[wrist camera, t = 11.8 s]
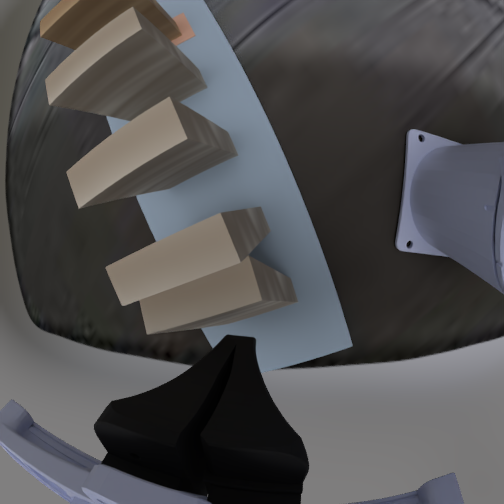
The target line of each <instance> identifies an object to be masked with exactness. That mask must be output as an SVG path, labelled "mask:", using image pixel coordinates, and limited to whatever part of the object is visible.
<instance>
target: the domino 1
mask: <svg viewBox="0 0 504 504" xmlns="http://www.w3.org/2000/svg"><path fill="white" fill-rule="evenodd" d="M131 7H134V8H135V9H136V10H137V11H139V12H140V13H141V14H142V15H143V16H144V17H145V18H147V19H148V20H149V21H150V22H151V23H152V24H153V25H154V26H155V27H157V28H158V29H159V30H160V31H161V32H162V33H163V34H164V35H165V36H166V37H167V38H168V39H169V40H170V41H172V40H174V39H176V38H178V37H180V36H181V35H182V34H181V32H180V30H179V28H178V26H177V24H176V22H175V21H174V20H173V19H172V18H171V16H170V15H169V14H168V13H167V12H166V11H165V10H164V9H163V8H162V7H161V5H160V4H159V3H158V2H157V1H156V0H62V1H61V2H59V3H58V4H57V5H56V6H55V7H54V8H53V9H52V10H51V11H50V12H49V13H48V14H47V15H46V16H45V17H44V18H43V19H42V20H41V21H40V34H41V37H42V38H45V39H48V40H50V41H53V42H56V43H58V44H61V45H64V46H66V47H69V48H71V49H74V50H76V49H77V48H78V47H79V46H81V45H82V44H83V43H84V42H85V41H86V40H88V39H89V38H90V37H91V36H92V35H94V34H95V33H96V32H97V31H99V30H100V29H101V28H103V27H104V26H105V25H107V24H108V23H109V22H111V21H112V20H113V19H115V18H116V17H118V16H119V15H121V14H122V13H124V12H125V11H126V10H128V9H130V8H131Z"/></svg>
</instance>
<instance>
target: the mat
mask: <svg viewBox="0 0 504 504" xmlns="http://www.w3.org/2000/svg"><path fill="white" fill-rule="evenodd" d="M156 1H157V2H158V3H159V4H160V5H161V7H162V8H163V9H164V10H165V11H166V12H167V13H168V14H169V15H170V16H171V18H172V19H173V20H174V21H175V22H176V24H177V26H178V28H179V30H180V32H181V34H182V35H181V36H180V37H178V38H176V39H174V40H172V41H171V42H172V43H173V44H174V45H176V46H177V47H178V48H179V49H180V50H181V51H182V52H183V53H184V54H185V55H186V56H187V57H188V58H189V59H190V60H191V61H192V63H193V64H194V65H195V66H196V67H197V68H198V69H199V70H200V72H201V75H202V77H203V79H204V81H205V83H206V85H207V87H208V88H206V89H204V90H202V91H200V92H198V93H196V94H194V95H192V96H190V97H189V98H187V99H185V100H183V101H181V102H180V103H182V104H184V105H185V106H187V107H189V108H190V109H192V110H194V111H195V112H197V113H199V114H200V115H202V116H204V117H205V118H207V119H208V120H210V121H212V122H213V123H215V124H216V125H218V126H219V127H221V128H223V129H224V130H226V131H227V132H228V133H229V135H230V137H231V139H232V142H233V144H234V146H235V148H236V151H237V153H238V156H236V157H234V158H231V159H229V160H227V161H225V162H223V163H220V164H218V165H216V166H214V167H212V168H210V169H208V170H206V171H204V172H202V173H200V174H198V175H196V176H194V177H192V178H190V179H188V180H186V181H184V182H182V183H180V184H178V185H176V186H174V187H172V188H170V189H167V190H162V191H156V192H151V193H146V194H141V195H136V197H137V199H138V201H139V204H140V206H141V208H142V211H143V213H144V215H145V218H146V220H147V222H148V224H149V227H150V229H151V231H152V233H153V235H154V238H155V240H156V242H157V241H159V240H162V239H164V238H166V237H168V236H170V235H172V234H174V233H176V232H179V231H181V230H183V229H185V228H187V227H190V226H192V225H194V224H196V223H198V222H201V221H203V220H205V219H207V218H210V217H212V216H214V215H216V214H219V213H222V212H228V211H234V210H241V209H247V208H254V207H261V208H262V210H263V213H264V215H265V218H266V220H267V223H268V225H269V228H270V230H271V231H270V232H269V234H268V235H267V236H266V237H265V238H264V239H263V240H262V241H261V242H260V243H259V244H258V245H257V246H256V247H255V248H254V249H253V250H252V251H251V252H250V254H249V256H251V257H253V258H254V259H256V260H258V261H260V262H262V263H264V264H265V265H267V266H269V267H271V268H273V269H274V270H276V271H278V272H280V273H282V274H284V275H285V276H287V277H289V278H291V281H292V284H293V287H294V290H295V293H296V296H297V299H298V302H297V303H294V304H291V305H288V306H285V307H282V308H279V309H276V310H273V311H270V312H266V313H263V314H260V315H257V316H254V317H250V318H247V319H244V320H240V321H237V322H234V323H230V324H225V325H219V326H212V327H205V328H201V329H202V331H203V332H204V334H205V336H206V338H207V339H208V341H209V343H210V344H211V346H212V348H214V347H215V346H216V345H217V344H218V343H219V342H220V341H221V340H222V339H223V338H224V336H226V335H227V334H229V335H238V336H247V337H254V338H255V339H256V356H257V361H258V365H259V369H260V372H261V373H262V372H266V371H271V370H275V369H279V368H283V367H287V366H290V365H294V364H298V363H301V362H305V361H308V360H312V359H315V358H318V357H321V356H325V355H328V354H331V353H334V352H337V351H340V350H343V349H346V348H349V347H352V346H353V345H352V341H351V338H350V335H349V331H348V328H347V324H346V321H345V318H344V315H343V311H342V308H341V305H340V302H339V299H338V296H337V292H336V289H335V286H334V283H333V280H332V277H331V274H330V271H329V269H328V266H327V263H326V260H325V257H324V254H323V251H322V249H321V246H320V243H319V240H318V238H317V235H316V232H315V230H314V227H313V224H312V222H311V219H310V216H309V214H308V211H307V209H306V206H305V204H304V201H303V199H302V196H301V194H300V191H299V189H298V186H297V184H296V181H295V179H294V177H293V174H292V172H291V170H290V167H289V165H288V163H287V160H286V158H285V156H284V153H283V151H282V149H281V147H280V144H279V142H278V140H277V138H276V135H275V133H274V131H273V129H272V127H271V125H270V123H269V120H268V118H267V116H266V114H265V112H264V110H263V108H262V106H261V104H260V102H259V100H258V98H257V96H256V94H255V92H254V90H253V88H252V86H251V84H250V82H249V80H248V78H247V76H246V74H245V72H244V70H243V68H242V66H241V64H240V63H239V61H238V59H237V57H236V55H235V53H234V51H233V50H232V48H231V46H230V44H229V42H228V41H227V39H226V37H225V35H224V34H223V32H222V30H221V28H220V27H219V25H218V23H217V22H216V20H215V18H214V17H213V15H212V13H211V12H210V10H209V8H208V7H207V5H206V4H205V2H204V0H156ZM107 119H108V122H109V125H110V128H111V131H112V134H113V133H115V132H116V131H117V130H119V129H120V128H122V127H123V126H124V125H126V124H127V123H129V122H130V121H127V120H122V119H118V118H114V117H109V116H107Z"/></svg>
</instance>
